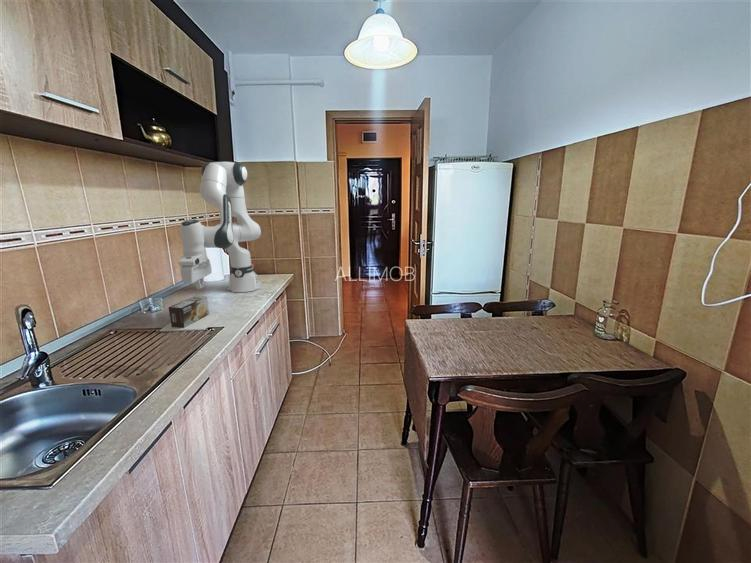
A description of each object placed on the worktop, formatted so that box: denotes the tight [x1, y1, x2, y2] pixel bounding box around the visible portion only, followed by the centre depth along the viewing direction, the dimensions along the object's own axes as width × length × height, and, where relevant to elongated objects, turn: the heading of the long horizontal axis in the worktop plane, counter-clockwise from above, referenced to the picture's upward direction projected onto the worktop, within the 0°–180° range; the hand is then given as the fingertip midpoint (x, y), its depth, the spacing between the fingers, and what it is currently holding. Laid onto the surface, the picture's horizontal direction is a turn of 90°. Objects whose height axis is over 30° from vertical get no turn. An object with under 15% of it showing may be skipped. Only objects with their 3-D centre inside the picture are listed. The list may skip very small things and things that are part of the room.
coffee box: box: [168, 295, 210, 328], centre depth 146 cm, size 9×6×16 cm
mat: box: [159, 314, 221, 332], centre depth 146 cm, size 16×18×1 cm
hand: (200, 288), depth 150 cm, fingers closed
